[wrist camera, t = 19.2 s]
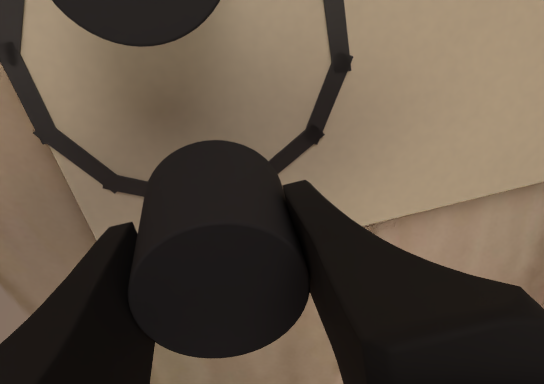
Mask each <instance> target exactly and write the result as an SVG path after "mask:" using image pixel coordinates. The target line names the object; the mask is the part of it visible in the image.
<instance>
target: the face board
mask: <svg viewBox="0 0 544 384" xmlns="http://www.w3.org/2000/svg"><path fill="white" fill-rule="evenodd" d="M0 62H1V64H2V66H3V68H4V70H5V72H6V73H7V75H8V77H9V79H10V81H11V83H12V85H13V87H14V89H15V91H16V93H17V95H18V97H19V99H20V101H21V103H22V105H23V107H24V109H25V111H26V113H27V115H28V117H29V119H30V121H31V123H32V125H33V126H34V128H35V131H34V132H33V134H35V135H36V136H37V137H39V138H40V140H41V142H42V144H48V145H49V147H50V149H51V151H52V153H53V155H54V157H55V159H56V161H57V163H58V165H59V167H60V169H61V171H62V173H63V175H64V177H65V179H66V181H67V183H68V185H69V187H70V189H71V191H72V193H73V195H74V197H75V199H76V201H77V203H78V205H79V207H80V209H81V211H82V213H83V215H84V217H85V219H86V221H87V223H88V225H89V227H90V229H91V231H92V233H93V235H94V237H95V239H96V241H97V240H98V239H99V238H100V237H101V235H102V234H103V233H104V232H105V231H106V230H107V229H108V228H109V227H111V226H115V225H119V224H124V223H128V222H133V224H134V227H135V229H136V231H137V233H138V229H139V223H140V218H141V212H142V207H143V201H144V196H145V190H146V186H147V183H148V180H149V178H150V176H151V174H152V173H153V171H154V170H155V168H156V167H157V166H158V165H159V164H160V163H161V161H162V160H163V159H165V158H166V157H167V156H168V155H170V154H171V153H173V152H174V151H176V150H178V149H180V148H182V147H184V146H186V145H189V144H192V143H196V142H200V141H206V140H225V141H230V142H235V143H239V144H242V145H245V146H247V147H249V148H251V149H253V150H255V151H256V152H258V153H259V154H261V155H262V156H263V157H264V158H266V159H267V160H268V161H269V163H270V164H271V165H272V166H273V167H274V169H275V170H276V172H277V174H278V176H279V178H280V180H281V184H282V185H285V184H289V183H293V182H297V181H301V180H307V181H308V182H310V183H311V184H312V185H313V186H314V187H315V188H316V189H317V190H318V191H319V192H320V193H321V194H322V195H323V196H324V197H325V198H326V199H327V200H328V201H330V202H331V203H332V204H333V205H334V206H335V207H337V208H338V209H339V210H340V211H342V212H343V213H344V214H346V215H347V216H348V217H349V218H351V219H352V220H354V221H355V222H356V223H358V224H359V225H361V226H366V225H370V224H374V223H378V222H382V221H386V220H390V219H394V218H398V217H403V216H407V215H411V214H415V213H419V212H423V211H427V210H431V209H435V208H439V207H443V206H448V205H452V204H456V203H460V202H464V201H468V200H472V199H476V198H480V197H484V196H488V195H493V194H497V193H501V192H505V191H509V190H513V189H517V188H521V187H525V186H529V185H533V184H538V183H542V182H544V0H220V2H219V3H218V5H217V6H216V8H215V9H214V11H213V12H212V14H211V15H210V16H209V17H208V18H207V19H206V20H205V22H203V23H202V24H201V25H200V26H199V27H198V28H197V29H195V30H194V31H192V32H191V33H189V34H188V35H186V36H184V37H182V38H180V39H178V40H176V41H173V42H170V43H166V44H163V45H157V46H147V47H137V46H127V45H122V44H117V43H113V42H111V41H108V40H105V39H102V38H100V37H98V36H96V35H94V34H91V33H90V32H88V31H86V30H85V29H83V28H82V27H80V26H78V25H77V24H76V23H75V22H73V21H72V20H71V19H70V18H68V17H67V16H66V15H65V14H64V13H63V12H62V11H61V10H60V9H59V8H58V7H57V6H56V5H55V4H54V2H53V1H52V0H0ZM282 187H283V186H282Z"/></svg>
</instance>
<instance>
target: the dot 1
mask: <svg viewBox="0 0 544 384" xmlns="http://www.w3.org/2000/svg"><path fill="white" fill-rule="evenodd" d="M52 1H53V2H54V4H55V5H56V6H57V7H58V8H59V9H60V10H61V11H62V12H63V13H64V14H65V15H66V16H67V17H68V18H70V19H71V20H72V21H73V22H75V23H76V24H77V25H78V26H80V27H82V28H83V29H85V30H86V31H88V32H90V33H91V34H94V35H96V36H98V37H100V38H102V39H105V40H108V41H111V42H113V43H117V44H122V45H127V46H137V47H147V46H157V45H163V44H166V43H170V42H173V41H176V40H178V39H180V38H182V37H184V36H186V35H188V34H189V33H191V32H192V31H194V30H195V29H197V28H198V27H199V26H200V25H201V24H202V23H203V22H205V20H206V19H207V18H208V17H209V16H210V15H211V14H212V12H213V11H214V9H215V8H216V6H217V5H218V3H219V2H220V0H52Z"/></svg>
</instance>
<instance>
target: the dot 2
mask: <svg viewBox="0 0 544 384" xmlns="http://www.w3.org/2000/svg"><path fill="white" fill-rule="evenodd" d="M309 292H310V276H309V271H308V268H307V264H306V261H305V258H304V255H303V252H302V248H301V245H300V242H299V239H298V237H297V234H296V231H295V229H294V226H293V223H292V220H291V217H290V213H289V210H288V207H287V203H286V200H285V195H284V190H283V187H282V184H281V180H280V178H279V176H278V174H277V172H276V170H275V169H274V167H273V166H272V165H271V164H270V163H269V161H268V160H267V159H266V158H264V157H263V156H262V155H261V154H259V153H258V152H256V151H255V150H253V149H251V148H249V147H247V146H245V145H242V144H239V143H235V142H230V141H225V140H206V141H200V142H196V143H192V144H189V145H186V146H184V147H182V148H180V149H178V150H176V151H174V152H173V153H171V154H170V155H168V156H167V157H166V158H165V159H163V160H162V161H161V163H160V164H159V165H158V166H157V167H156V168H155V170H154V171H153V173H152V174H151V176H150V178H149V180H148V183H147V186H146V190H145V196H144V201H143V207H142V212H141V218H140V223H139V229H138V234H137V240H136V245H135V251H134V256H133V262H132V267H131V273H130V278H129V284H128V303H129V307H130V310H131V313H132V315H133V318H134V319H135V321H136V323H137V324H138V326H139V327H140V328H141V330H142V331H143V332H144V333H145V334H146V335H147V336H148V337H150V338H151V339H152V340H153V341H155V342H156V343H158V344H159V345H161V346H163V347H165V348H167V349H169V350H171V351H174V352H177V353H179V354H183V355H187V356H192V357H198V358H227V357H234V356H239V355H243V354H246V353H250V352H253V351H255V350H258V349H261V348H263V347H265V346H267V345H269V344H271V343H272V342H274V341H275V340H277V339H278V338H280V337H281V336H282V335H284V334H285V333H286V332H287V331H288V330H289V329H290V328H291V327H292V326H293V325H294V324H295V323H296V321H297V320H298V319H299V318H300V316H301V314H302V312H303V311H304V309H305V306H306V303H307V301H308V297H309Z"/></svg>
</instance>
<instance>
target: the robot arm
mask: <svg viewBox="0 0 544 384" xmlns="http://www.w3.org/2000/svg"><path fill="white" fill-rule="evenodd" d="M282 186H283V190H284V195H285V200H286V203H287V207H288V210H289V213H290V217H291V220H292V223H293V226H294V229H295V231H296V234H297V237H298V239H299V242H300V245H301V248H302V252H303V255H304V258H305V261H306V264H307V268H308V271H309V276H310V293H311V296H312V298H313V301H314V303H315V306H316V308H317V311H318V313H319V316H320V318H321V321H322V323H323V326H324V328H325V331H326V333H327V335H328V338H329V340H330V343H331V345H332V348H333V351H334V354H335V357H336V360H337V363H338V366H339V369H340V373H341V376H342V380H343V383H344V384H544V309H543V308H542V307H541V306H540V305H539V304H538V303H537V302H536V301H535V300H534V299H533V298H531V297H530V296H529V295H528V294H527V293H526V292H525V291H524V290H523V289H522V288H521V287H519V286H515V285H510V284H506V283H502V282H498V281H493V280H489V279H485V278H481V277H476V276H473V275H469V274H466V273H463V272H460V271H456V270H453V269H450V268H447V267H444V266H441V265H438V264H436V263H433V262H430V261H428V260H425V259H423V258H421V257H418V256H416V255H413V254H411V253H409V252H406V251H404V250H402V249H400V248H398V247H396V246H394V245H392V244H390V243H388V242H386V241H385V240H383V239H381V238H379V237H378V236H376V235H374V234H373V233H371V232H370V231H368V230H367V229H365V228H364V227H362V226H361V225H359V224H358V223H356V222H355V221H354V220H352V219H351V218H349V217H348V216H347V215H346V214H344V213H343V212H342V211H340V210H339V209H338V208H337V207H335V206H334V205H333V204H332V203H331V202H330V201H328V200H327V199H326V198H325V197H324V196H323V195H322V194H321V193H320V192H319V191H318V190H317V189H316V188H315V187H314V186H313V185H312V184H311V183H310V182H308V181H307V180H301V181H297V182H293V183H289V184H285V185H282ZM137 234H138V233H137V231H136V229H135V227H134V224H133V222H128V223H124V224H119V225H115V226H111V227H109V228H108V229H107V230H106V231H105V232H104V233H103V234H102V235H101V237H100V238H99V239H98V240H97V241H96V243H95V244H94V245H93V246H92V247H91V249H90V250H89V251H88V252H87V254H86V255H85V256H84V257H83V258H82V260H81V261H80V262H79V263H78V264H77V266H76V267H75V268H74V269H73V270H72V272H71V273H70V274H69V275H68V276H67V277H66V279H65V280H64V281H63V282H62V283H61V284H60V285H59V286H58V287H57V288H56V290H55V291H54V292H53V293H52V294H51V295H50V296H49V297H48V298H47V299H46V301H45V302H44V303H43V304H42V305H41V306H40V307H39V308H38V309H37V310H36V311H35V312H34V313H33V314H32V315H31V316H30V317H29V318H28V319H27V320H26V321H25V322H24V323H23V324H22V325H21V326H20V327H19V328H18V329H16V330H15V331H14V332H13V333H12V334H11V335H10V336H9V337H8V338H7V339H5V340H4V341H3V342H2V343H1V344H0V384H150V377H151V369H152V361H153V354H154V346H155V341H153V340H152V339H151V338H150V337H148V336H147V335H146V334H145V333H144V332H143V331H142V330H141V328H140V327H139V326H138V324H137V323H136V321H135V319H134V318H133V315H132V313H131V310H130V307H129V303H128V284H129V278H130V273H131V267H132V262H133V256H134V251H135V245H136V240H137Z"/></svg>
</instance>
